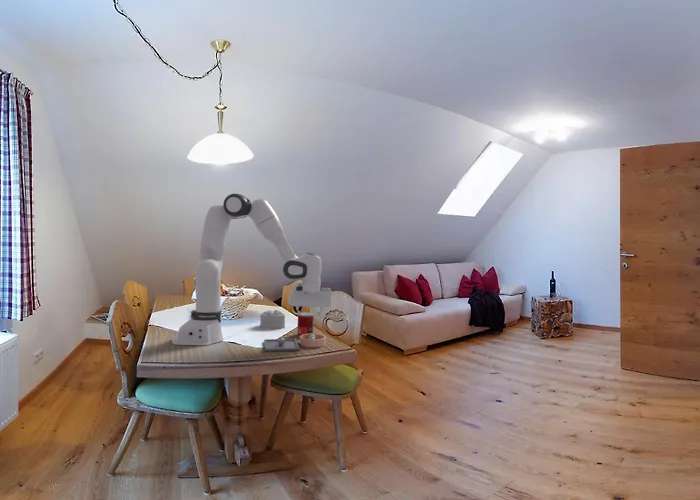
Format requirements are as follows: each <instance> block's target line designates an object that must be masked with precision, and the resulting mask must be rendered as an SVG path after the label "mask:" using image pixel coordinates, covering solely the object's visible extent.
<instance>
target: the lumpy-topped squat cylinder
mask: <svg viewBox="0 0 700 500" xmlns="http://www.w3.org/2000/svg"><path fill="white" fill-rule="evenodd" d="M259 318H260V321H259V322H260V323H259V325H260V328H261V327H262V329H266V328H269V330H280V329H281V330H283V329H285V328H286V314H285V313H283V312H282V311H280V310H278V309H274V310H270V309H269V310H265V311H263V313H260V317H259ZM282 328H283V329H282Z"/></svg>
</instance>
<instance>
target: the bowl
mask: <svg viewBox="0 0 700 500" xmlns="http://www.w3.org/2000/svg"><path fill="white" fill-rule="evenodd" d="M310 335H314V336H315V337H316V340H310V339H309V336H310ZM326 344H327V336H326V335H324V334H321V333H314V332H313V333H310V334H303V335H301V336H299V345H300V346H301V347H305V348H311V349H312V348H322V347H325V346H326Z"/></svg>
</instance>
